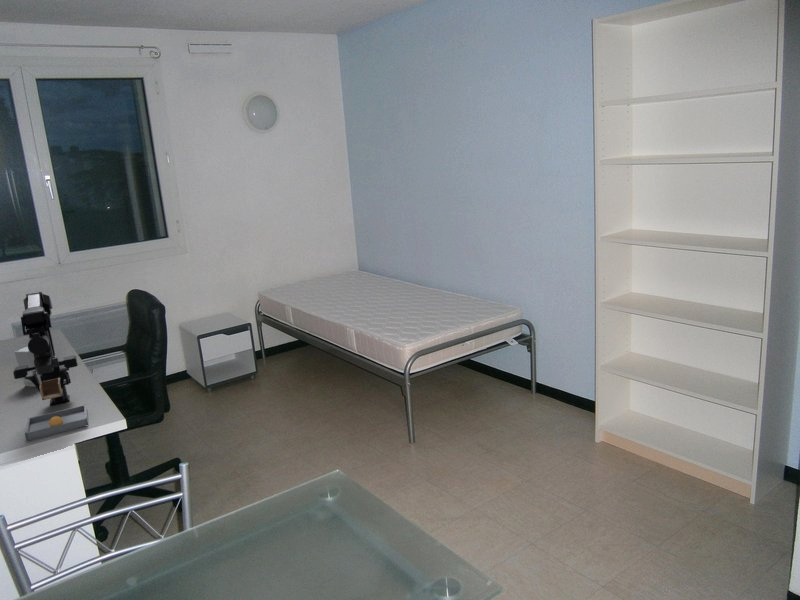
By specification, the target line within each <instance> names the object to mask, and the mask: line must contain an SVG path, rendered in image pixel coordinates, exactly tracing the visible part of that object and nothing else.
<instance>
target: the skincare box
mask: <svg viewBox="0 0 800 600" xmlns="http://www.w3.org/2000/svg"><path fill="white" fill-rule="evenodd" d="M13 353H14V356H15V358H16V363H17V365H18V367H19V366H24V365H28V367H33V366H35V365H34V356H33V353H31V352H30V351H29V349H28V346H25V347H23V348H20V349H17V350H15V351H13ZM36 375H37V378H38V380H39V383H40V382H41V379H40V375H38V374H37V372H36ZM22 380H23V384H24V386H25V387H31V388H36V386H35V385H34V384H33V382H32V381H30V380H29V379H25V377H24V378H22Z"/></svg>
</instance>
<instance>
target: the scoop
mask: <svg viewBox="0 0 800 600" xmlns="http://www.w3.org/2000/svg"><path fill="white" fill-rule="evenodd" d="M39 388H40V392H39V393H40V397H41V401H46V400H50V399H51V398H56V397H60V396H63V389H62V388H61V383H60V378H57V379H52V380H47V381H43V382H40V387H39Z"/></svg>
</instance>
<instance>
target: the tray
mask: <svg viewBox="0 0 800 600" xmlns="http://www.w3.org/2000/svg"><path fill="white" fill-rule="evenodd" d="M88 414H89V412H88V408H87V404H82V405H78V406H74V407H70V408H65V409H62V410H57V411H53V412H48V413H43V414H39V415H35V416H32V417H28V418H27V422H26V425H25V426H26V427H25V431H24V436H25V439H26V441H27V440H28V441H32V440H36V439H39V437H40V438H43V436H44V437H47V435H48V436H50V435H55V434H59V433H63V432H67V430H68V431H72V430H76V429H79V428H78V427H80V428H82V427H81V426H84V427H87V426H86V425H88V426H89V416H88ZM55 416H59V417H61V418H62V420H63V424H60V425H56V426H52V427H50V425H49V421H50V419H51V418H52V417H55ZM75 428H76V429H75ZM71 429H72V430H71ZM35 438H36V439H35ZM31 439H32V440H31Z"/></svg>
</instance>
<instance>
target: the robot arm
mask: <svg viewBox="0 0 800 600" xmlns="http://www.w3.org/2000/svg"><path fill="white" fill-rule="evenodd" d="M22 301H23V306H24V310H23V311H22V316H20V321H21V322H20V323H21V329H22V334H23V336H28V338H29V339H28V343H27V347H28V349H29V351H30V352H31V353H33V356H34V365H35V366H33V367H28V365H24V366H19V365H18V366H15V368H14V369H13V371H12V373H13V374H12V375H13V378H14V380H18V379H23V378H24V377H25V379H29V380H30V381H32V382H33V384H34V385H35V386H36V387H35V388H36V389H37V390H38V392H39V393H40V388H39V387H40V383H39V380H38V378H37V375H36V372H37V374H38V375H40V379H41V382H43V381H47V380H52V379H57V378H60V383H61V388H62V389H63V396H60V397H56V398H51V399H49V400H50V401H49V406H55V405H58V404H62V403H66V402H67V403H68V402H70V399H71V397H70V395H69V394H68V391H67V386H69V385H70V384H71V383H72V381H71V377H70V374H69V372H68V371H70V368H75V367H78V365H79V363H78V359H77V358H78V357H77V356H76V355H74V354H73V355H69V356H63V360H59V357H58V355H56V350H55V345H54V340H53V337H52V336H53V335H52V332H51V328H52V321H51V315H52V310H53V304H52V300H51V297H50V295H48V294H44V293H43V292H42V291H35V292H34V291H32V292H28V293H26V294H25V298H24V299H23V300H22Z"/></svg>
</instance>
